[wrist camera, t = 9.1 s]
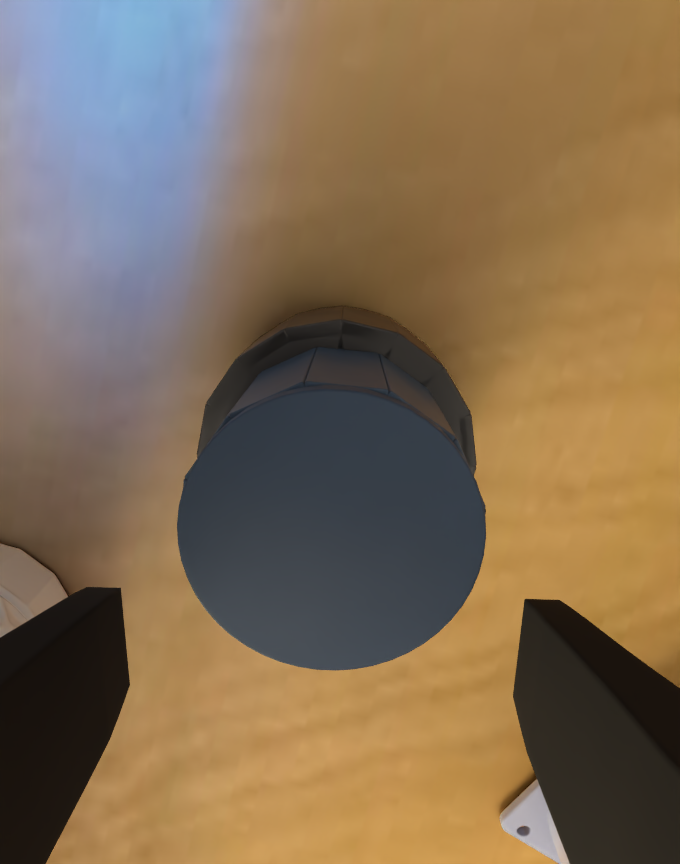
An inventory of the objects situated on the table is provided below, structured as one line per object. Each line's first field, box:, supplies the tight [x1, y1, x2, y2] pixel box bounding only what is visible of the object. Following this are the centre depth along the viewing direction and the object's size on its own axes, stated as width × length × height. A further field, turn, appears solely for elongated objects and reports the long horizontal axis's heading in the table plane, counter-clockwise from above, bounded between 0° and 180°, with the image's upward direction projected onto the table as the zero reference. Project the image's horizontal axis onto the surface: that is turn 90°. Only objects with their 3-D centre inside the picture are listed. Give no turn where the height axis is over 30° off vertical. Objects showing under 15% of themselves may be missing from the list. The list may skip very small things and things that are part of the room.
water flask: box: [197, 306, 476, 476], centre depth 17 cm, size 7×7×7 cm
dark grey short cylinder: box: [177, 347, 486, 670], centre depth 13 cm, size 6×6×5 cm
